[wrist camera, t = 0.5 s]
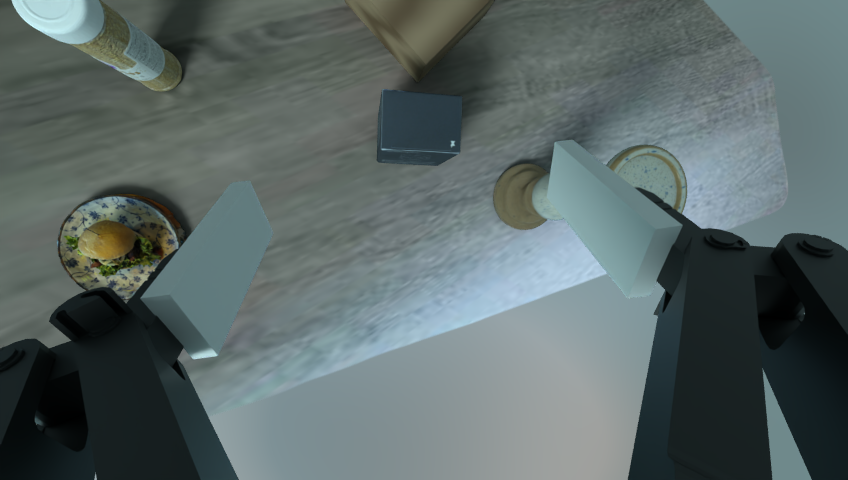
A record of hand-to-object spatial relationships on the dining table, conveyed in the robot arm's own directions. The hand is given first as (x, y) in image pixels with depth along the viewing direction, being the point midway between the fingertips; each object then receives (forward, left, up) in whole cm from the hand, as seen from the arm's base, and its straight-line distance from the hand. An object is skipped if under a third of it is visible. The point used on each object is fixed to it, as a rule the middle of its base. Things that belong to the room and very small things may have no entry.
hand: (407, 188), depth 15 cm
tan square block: (-12, +19, -28) cm, 36 cm away
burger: (-16, -24, -28) cm, 40 cm away
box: (-2, +7, -28) cm, 29 cm away
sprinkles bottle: (-26, -7, -28) cm, 39 cm away
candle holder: (+14, +13, -28) cm, 34 cm away
